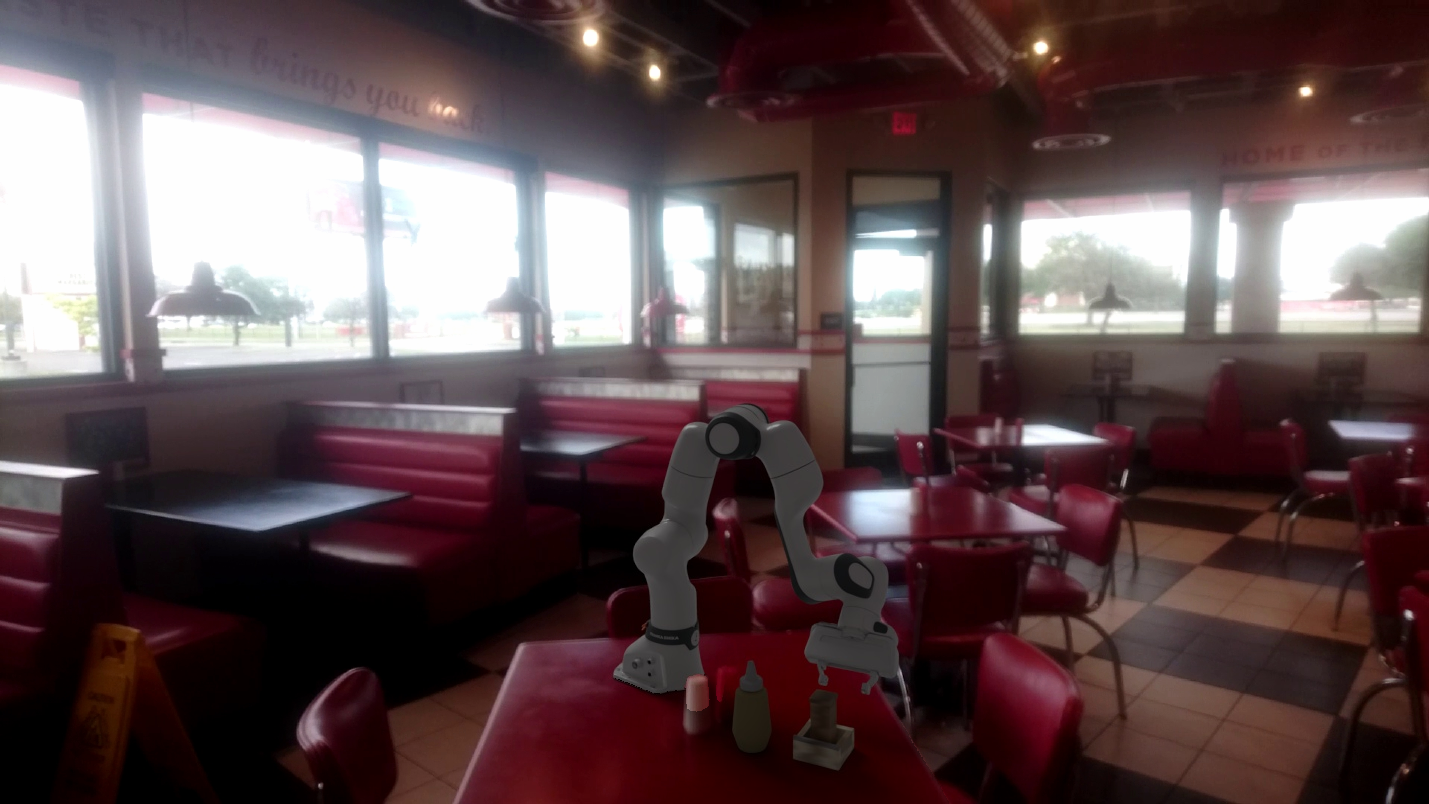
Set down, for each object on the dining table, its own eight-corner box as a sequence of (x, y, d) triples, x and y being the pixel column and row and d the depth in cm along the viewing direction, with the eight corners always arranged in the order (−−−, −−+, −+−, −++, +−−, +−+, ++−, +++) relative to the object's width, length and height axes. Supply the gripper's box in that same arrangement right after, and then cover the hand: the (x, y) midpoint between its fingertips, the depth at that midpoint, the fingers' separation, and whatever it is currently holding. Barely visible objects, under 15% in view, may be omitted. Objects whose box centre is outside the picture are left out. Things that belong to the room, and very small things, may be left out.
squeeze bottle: (769, 758, 161) (768, 672, 159) (729, 755, 163) (727, 669, 161) (774, 737, 169) (773, 654, 167) (736, 734, 171) (734, 652, 169)
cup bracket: (793, 758, 161) (793, 735, 161) (810, 736, 169) (810, 714, 169) (838, 770, 157) (838, 747, 156) (854, 747, 165) (854, 724, 164)
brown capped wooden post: (809, 755, 162) (809, 698, 161) (817, 745, 166) (817, 689, 165) (830, 761, 160) (830, 702, 159) (837, 750, 164) (837, 693, 163)
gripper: (809, 614, 182) (793, 673, 175) (900, 629, 173) (887, 692, 165) (817, 626, 187) (801, 684, 179) (905, 641, 177) (893, 704, 170)
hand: (843, 688), depth 172 cm, fingers open, 8 cm apart
